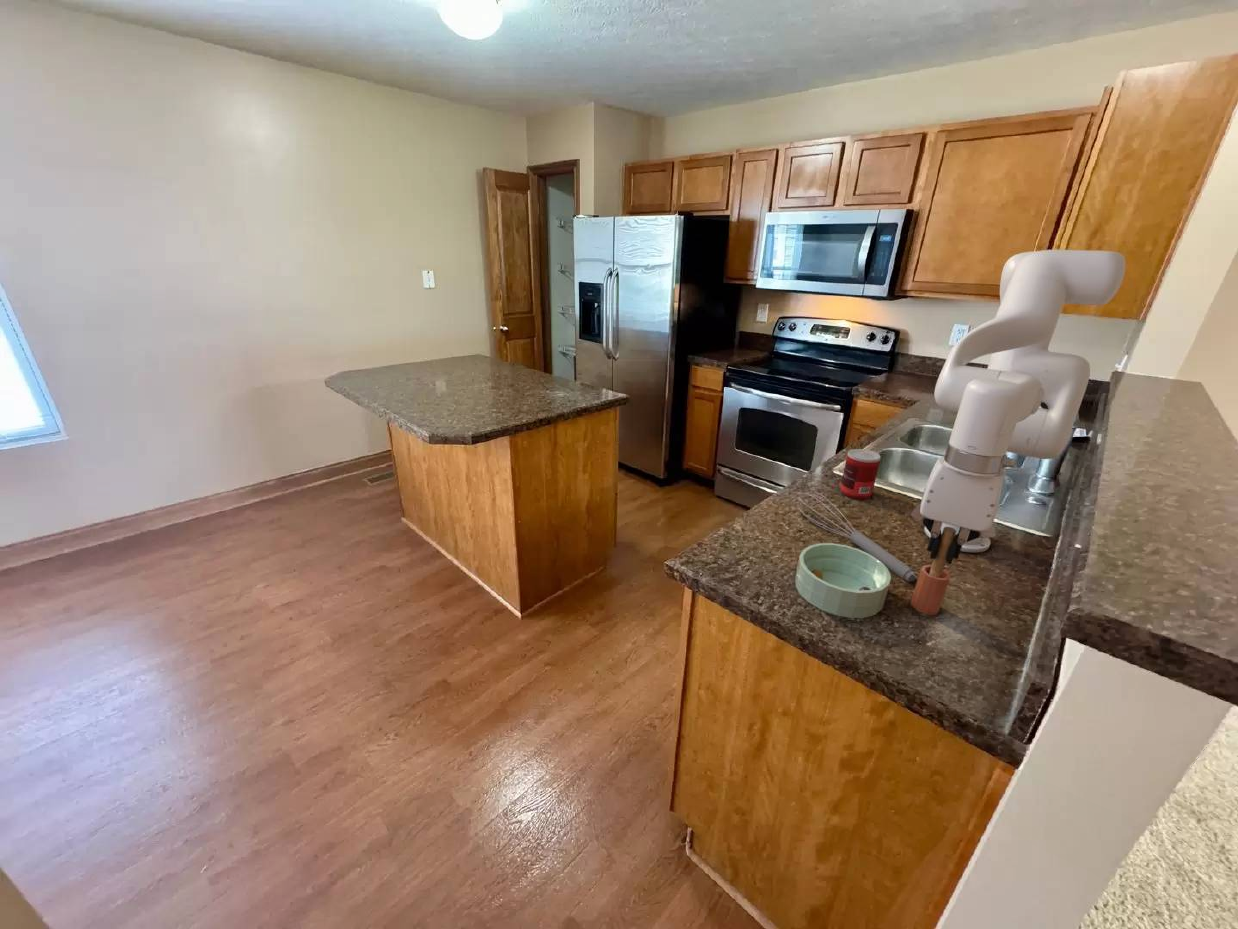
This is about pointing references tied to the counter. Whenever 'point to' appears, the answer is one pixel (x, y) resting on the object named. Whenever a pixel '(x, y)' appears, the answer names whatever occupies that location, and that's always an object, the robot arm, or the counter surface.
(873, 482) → the canned food
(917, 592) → the utensil pot
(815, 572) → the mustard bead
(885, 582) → the mixing bowl
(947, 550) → the stirring stick
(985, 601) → the counter surface
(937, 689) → the counter surface
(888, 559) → the kitchen whisk
